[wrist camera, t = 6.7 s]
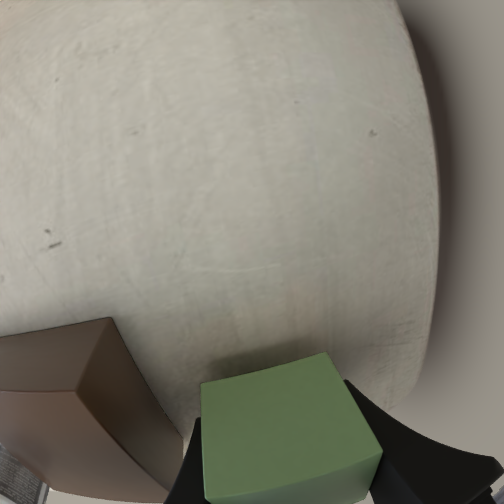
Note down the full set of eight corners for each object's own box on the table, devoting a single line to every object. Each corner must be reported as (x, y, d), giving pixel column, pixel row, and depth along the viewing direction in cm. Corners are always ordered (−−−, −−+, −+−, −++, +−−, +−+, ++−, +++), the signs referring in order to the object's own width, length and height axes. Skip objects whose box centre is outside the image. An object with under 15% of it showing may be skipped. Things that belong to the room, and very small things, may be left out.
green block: (329, 420, 11) (365, 499, 7) (232, 445, 11) (245, 531, 6) (326, 350, 10) (384, 450, 5) (199, 382, 9) (204, 498, 5)
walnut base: (183, 439, 12) (184, 503, 8) (68, 441, 12) (53, 490, 8) (111, 316, 9) (75, 391, 6) (-10, 338, 9) (-48, 386, 5)
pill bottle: (-6, 420, 11) (-40, 500, 3) (37, 435, 11) (7, 531, 3) (23, 456, 12) (1, 529, 4) (67, 470, 13) (50, 554, 5)
